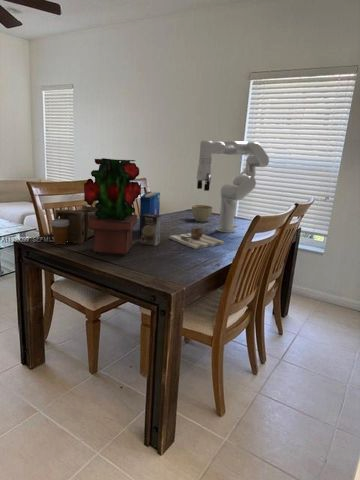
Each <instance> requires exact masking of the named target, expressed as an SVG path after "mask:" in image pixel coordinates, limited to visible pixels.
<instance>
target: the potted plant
mask: <svg viewBox="0 0 360 480" xmlns="http://www.w3.org/2000/svg"><path fill="white" fill-rule="evenodd" d="M135 162H136V160H134V159H114V158H103V157H102V158H94V163H95V164H96V165H99V166H98V169H95V170H94V169H93V170H91V171H90V175H91V177H94V179H92V178H88V179H87V180H86V182H84V183H83V190H84V191H83V197H84V199H83V200H84V202H86V203H87V206H92V205H94V207H96V208H97V209H99V210H97V211H96V212H95V216H93V217H92V218H90V219H89V220H88V228H93V229H94V235H93V252H98V254H99V255H100V254H102V255H103V256H116V257H117V256H118V257H124V255H125V254H128V252H129V250H130V249H131V248H132V246H133V228H134V227H135V226H136V224H137V223H138V214H134V213H135V212H136V208H135V207H133V205H134V203H135V201H136V199H138V198H139V197H141V196H142V194H141V193H142V182H140V183H139V182H138V181H135V180H136V179H137V177H138V176H140V168H139V167H138V166H137V165H136V163H135ZM94 202H96V203H95V204H94Z"/></svg>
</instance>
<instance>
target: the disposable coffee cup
mask: <svg viewBox="0 0 360 480" xmlns="http://www.w3.org/2000/svg"><path fill="white" fill-rule="evenodd" d="M50 225H51V229H52V234H53V241H54V244H55V243H57V244H64V243H67V244H68V242H67V241H68V231H69V225H70V223H69V220H65V219H59V218H58V219H56V220H55V219H52V220H51V221H50ZM57 244H56V245H57ZM64 245H65V244H64Z"/></svg>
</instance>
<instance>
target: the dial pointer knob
mask: <svg viewBox="0 0 360 480" xmlns="http://www.w3.org/2000/svg"><path fill="white" fill-rule="evenodd" d="M190 233H191V236H192V237H181V238H194V239H200V238H201V237H202V234H203V227H198V226H197V227H191V232H190Z"/></svg>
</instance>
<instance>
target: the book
mask: <svg viewBox="0 0 360 480" xmlns="http://www.w3.org/2000/svg"><path fill="white" fill-rule="evenodd" d="M139 197H140V196H139ZM160 201H161V192H159V191H158V192H157V191H147V192H146V193H144V194H143V195H141V197H140V200H139V202H140V203H139V204H140V206H139V235H140V236H141V232H142V215H144V214H154V215H160V205H161V204H160Z"/></svg>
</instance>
